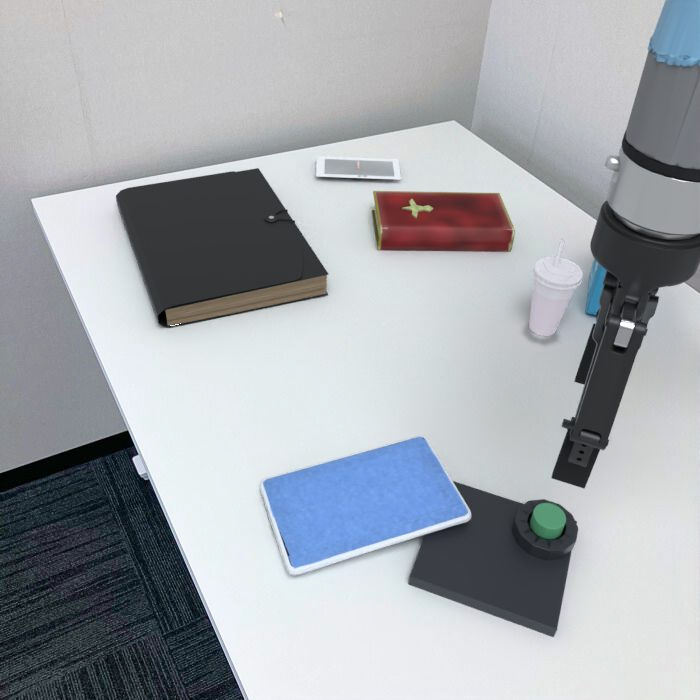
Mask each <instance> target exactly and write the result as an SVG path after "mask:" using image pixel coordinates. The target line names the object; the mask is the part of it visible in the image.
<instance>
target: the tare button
mask: <svg viewBox="0 0 700 700" xmlns="http://www.w3.org/2000/svg"><path fill="white" fill-rule="evenodd" d="M565 523H566V516H565V513H564V512H563V510H562V509H561V508H559V507H558V506H556V505H554V504H551V503H541V504H539V505H537V506H536V507H535V508H534V511H533V514H532V517H531V520H530V526H531V529H532V531H533V532H534V533H535V534H536V535H538V536H539V537H541V538H544V539H555V538H557V537H559V536H560V535H561V533H562V531H563V528H564V525H565Z"/></svg>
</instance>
